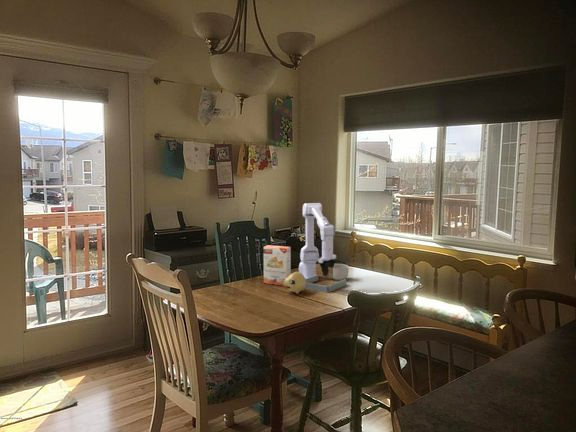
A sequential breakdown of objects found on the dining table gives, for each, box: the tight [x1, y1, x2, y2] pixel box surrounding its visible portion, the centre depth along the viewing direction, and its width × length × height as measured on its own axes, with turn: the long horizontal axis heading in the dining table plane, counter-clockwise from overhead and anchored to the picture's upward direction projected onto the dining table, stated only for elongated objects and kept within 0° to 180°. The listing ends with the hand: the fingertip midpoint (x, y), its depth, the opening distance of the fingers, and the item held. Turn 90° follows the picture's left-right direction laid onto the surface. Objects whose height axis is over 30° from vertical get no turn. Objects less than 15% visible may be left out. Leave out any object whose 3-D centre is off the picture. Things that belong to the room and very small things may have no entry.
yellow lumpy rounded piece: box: [283, 271, 306, 295], centre depth 234 cm, size 10×12×11 cm
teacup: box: [331, 263, 349, 281], centre depth 262 cm, size 14×11×8 cm
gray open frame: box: [305, 274, 347, 293], centre depth 247 cm, size 19×19×3 cm
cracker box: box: [263, 244, 292, 287], centre depth 251 cm, size 14×6×21 cm, turn 68°
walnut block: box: [322, 267, 333, 280], centre depth 239 cm, size 4×4×5 cm
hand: (327, 274), depth 239 cm, fingers closed on walnut block, 4 cm apart
